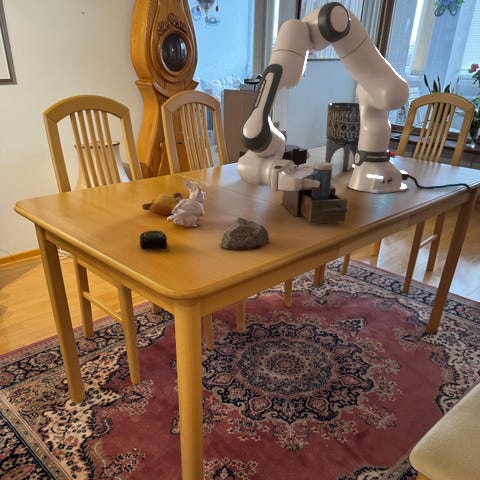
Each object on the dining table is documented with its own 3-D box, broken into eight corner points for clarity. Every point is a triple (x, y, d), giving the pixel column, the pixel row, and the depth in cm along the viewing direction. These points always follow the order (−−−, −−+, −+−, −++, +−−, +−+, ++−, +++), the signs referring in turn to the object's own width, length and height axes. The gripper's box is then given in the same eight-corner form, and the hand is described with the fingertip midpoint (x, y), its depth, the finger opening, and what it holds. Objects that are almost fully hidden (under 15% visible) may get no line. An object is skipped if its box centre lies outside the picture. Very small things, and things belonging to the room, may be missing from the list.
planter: (314, 167, 208) (320, 104, 195) (332, 161, 222) (339, 101, 209) (354, 174, 199) (364, 107, 185) (370, 166, 213) (380, 104, 199)
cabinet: (332, 214, 146) (336, 188, 142) (296, 216, 144) (298, 190, 139) (315, 202, 158) (318, 177, 154) (282, 204, 156) (283, 179, 151)
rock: (254, 234, 128) (255, 211, 124) (276, 243, 122) (277, 220, 119) (217, 245, 120) (217, 221, 117) (238, 255, 115) (239, 231, 111)
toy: (137, 206, 138) (152, 192, 151) (146, 225, 141) (160, 210, 154) (170, 195, 135) (182, 182, 148) (178, 215, 138) (190, 200, 150)
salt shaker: (318, 210, 144) (323, 161, 136) (330, 214, 140) (337, 164, 132) (305, 213, 141) (309, 163, 133) (317, 217, 137) (323, 166, 129)
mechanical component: (240, 121, 182) (283, 115, 202) (239, 174, 193) (280, 164, 212) (283, 126, 170) (325, 120, 190) (280, 183, 181) (320, 172, 200)
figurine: (213, 220, 138) (213, 178, 132) (181, 233, 128) (179, 188, 121) (193, 215, 142) (192, 174, 136) (160, 228, 132) (157, 183, 125)
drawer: (352, 227, 133) (355, 204, 130) (316, 229, 131) (318, 206, 127) (327, 209, 149) (329, 188, 145) (294, 210, 146) (296, 189, 143)
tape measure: (140, 253, 115) (139, 239, 113) (141, 243, 121) (140, 230, 119) (167, 252, 116) (166, 238, 114) (167, 242, 122) (166, 229, 120)
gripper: (297, 178, 151) (337, 184, 144) (268, 191, 135) (311, 199, 129) (299, 159, 147) (339, 164, 141) (269, 170, 132) (313, 176, 126)
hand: (326, 180), depth 135 cm, fingers open, 8 cm apart
